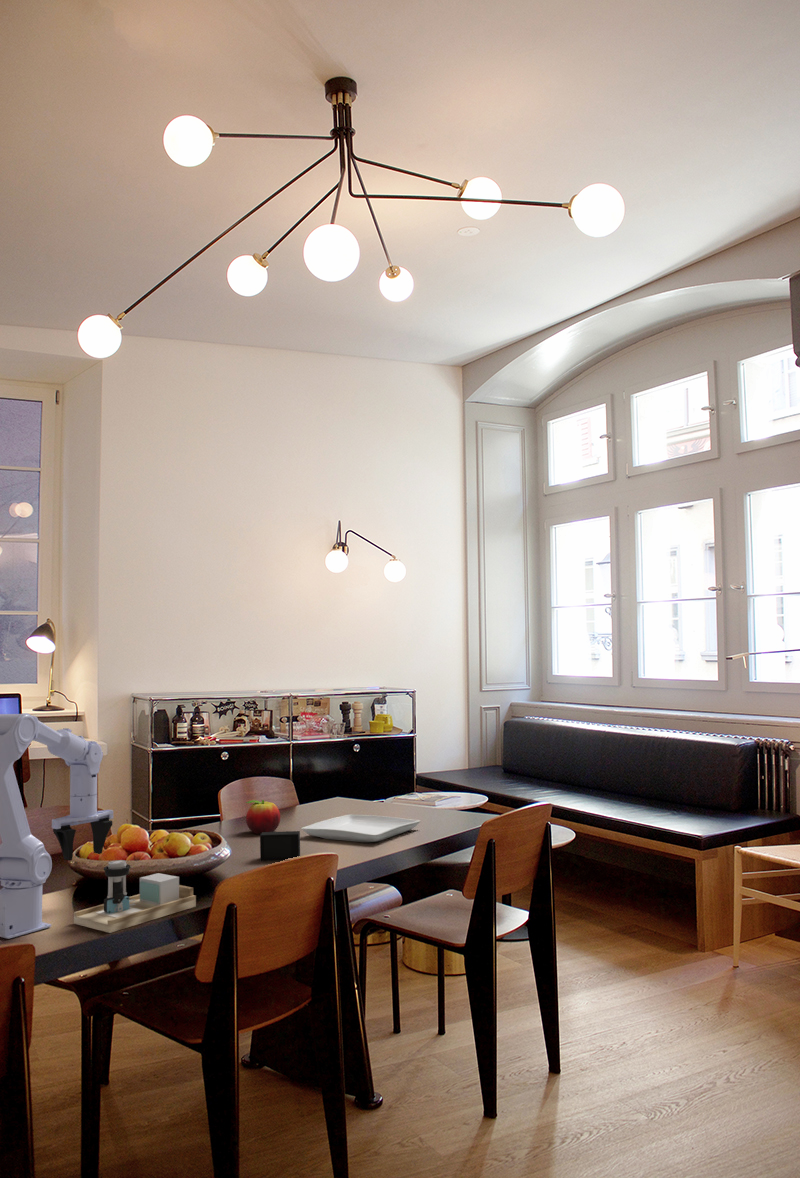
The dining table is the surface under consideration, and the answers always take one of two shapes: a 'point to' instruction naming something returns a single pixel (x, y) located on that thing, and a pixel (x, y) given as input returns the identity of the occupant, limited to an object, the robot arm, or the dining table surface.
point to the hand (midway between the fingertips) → (83, 856)
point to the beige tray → (133, 912)
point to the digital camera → (279, 845)
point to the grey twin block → (159, 889)
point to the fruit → (262, 817)
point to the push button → (117, 887)
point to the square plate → (360, 827)
